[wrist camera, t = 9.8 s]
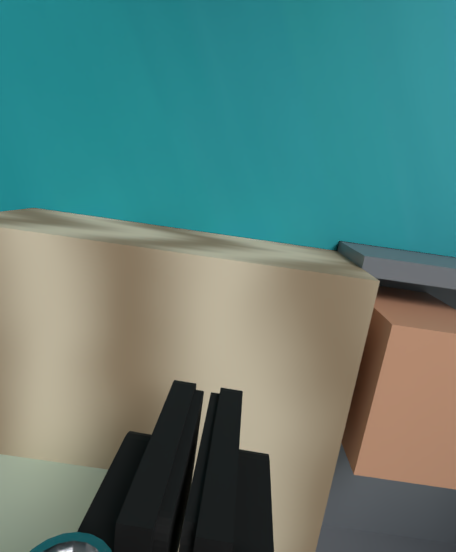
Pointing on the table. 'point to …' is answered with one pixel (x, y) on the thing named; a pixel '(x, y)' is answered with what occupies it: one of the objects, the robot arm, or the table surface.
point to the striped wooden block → (179, 345)
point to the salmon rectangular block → (406, 392)
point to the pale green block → (42, 500)
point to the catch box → (381, 492)
